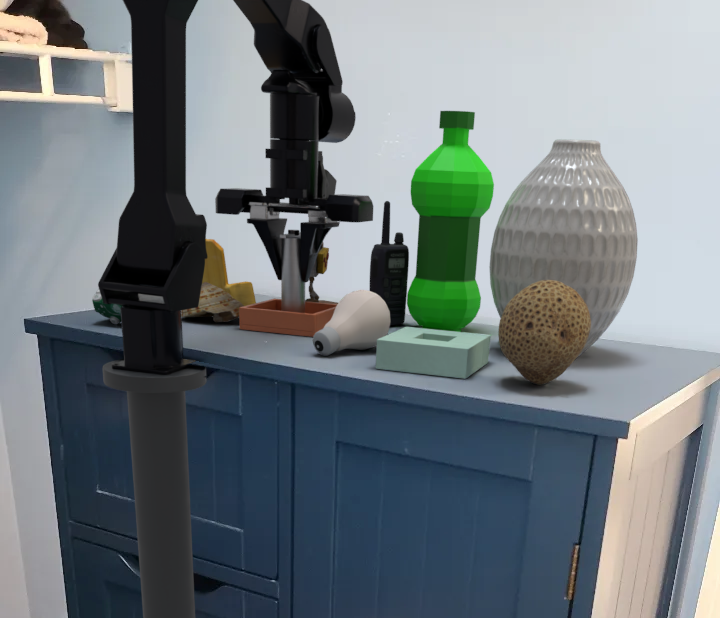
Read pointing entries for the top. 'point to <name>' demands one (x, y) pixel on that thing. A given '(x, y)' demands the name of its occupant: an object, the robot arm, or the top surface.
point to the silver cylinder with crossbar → (292, 273)
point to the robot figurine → (319, 268)
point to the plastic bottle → (449, 228)
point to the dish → (285, 318)
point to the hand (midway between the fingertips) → (293, 281)
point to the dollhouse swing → (224, 275)
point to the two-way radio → (390, 270)
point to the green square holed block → (433, 352)
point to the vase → (568, 233)
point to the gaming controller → (107, 308)
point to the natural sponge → (544, 330)
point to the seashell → (214, 305)
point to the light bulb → (354, 324)
